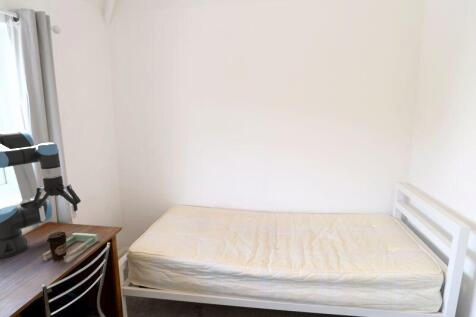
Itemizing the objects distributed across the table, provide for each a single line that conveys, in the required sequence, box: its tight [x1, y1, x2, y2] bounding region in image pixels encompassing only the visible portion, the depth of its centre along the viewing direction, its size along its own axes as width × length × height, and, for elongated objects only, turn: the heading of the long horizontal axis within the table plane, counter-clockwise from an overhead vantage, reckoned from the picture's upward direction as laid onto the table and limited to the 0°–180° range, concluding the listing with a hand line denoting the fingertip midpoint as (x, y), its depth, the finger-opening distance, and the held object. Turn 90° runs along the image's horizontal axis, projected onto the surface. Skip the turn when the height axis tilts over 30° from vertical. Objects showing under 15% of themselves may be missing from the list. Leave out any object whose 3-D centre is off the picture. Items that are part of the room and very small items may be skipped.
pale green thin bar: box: [41, 235, 77, 262], centre depth 145 cm, size 2×20×3 cm, turn 170°
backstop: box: [71, 232, 99, 243], centre depth 155 cm, size 14×2×4 cm, turn 80°
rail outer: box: [63, 237, 96, 263], centre depth 143 cm, size 2×20×3 cm, turn 170°
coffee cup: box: [46, 231, 68, 262], centre depth 136 cm, size 9×8×13 cm
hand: (59, 218), depth 131 cm, fingers open, 13 cm apart
